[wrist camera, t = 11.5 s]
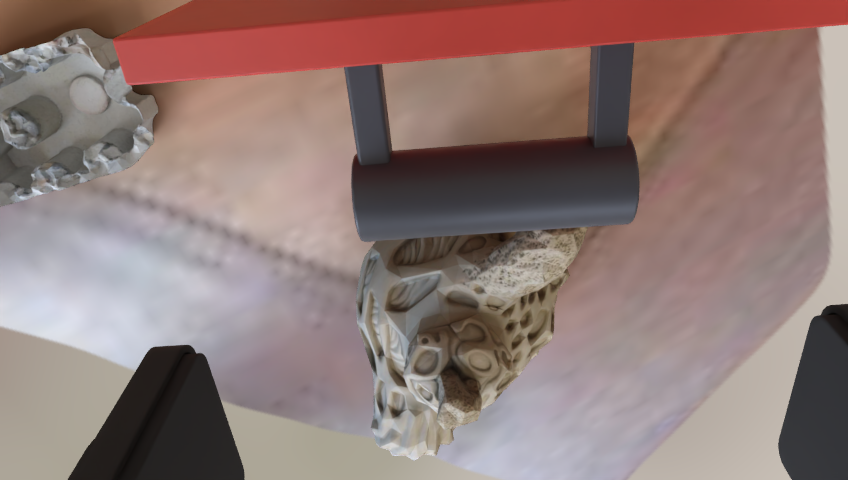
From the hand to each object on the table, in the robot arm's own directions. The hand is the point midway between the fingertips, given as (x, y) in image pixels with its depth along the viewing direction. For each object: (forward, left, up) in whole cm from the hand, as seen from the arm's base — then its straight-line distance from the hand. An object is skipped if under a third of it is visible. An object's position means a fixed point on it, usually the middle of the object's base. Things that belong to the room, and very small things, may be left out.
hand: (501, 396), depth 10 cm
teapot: (+13, -1, -28) cm, 31 cm away
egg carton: (+2, -23, -28) cm, 36 cm away
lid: (-6, 0, -11) cm, 13 cm away
